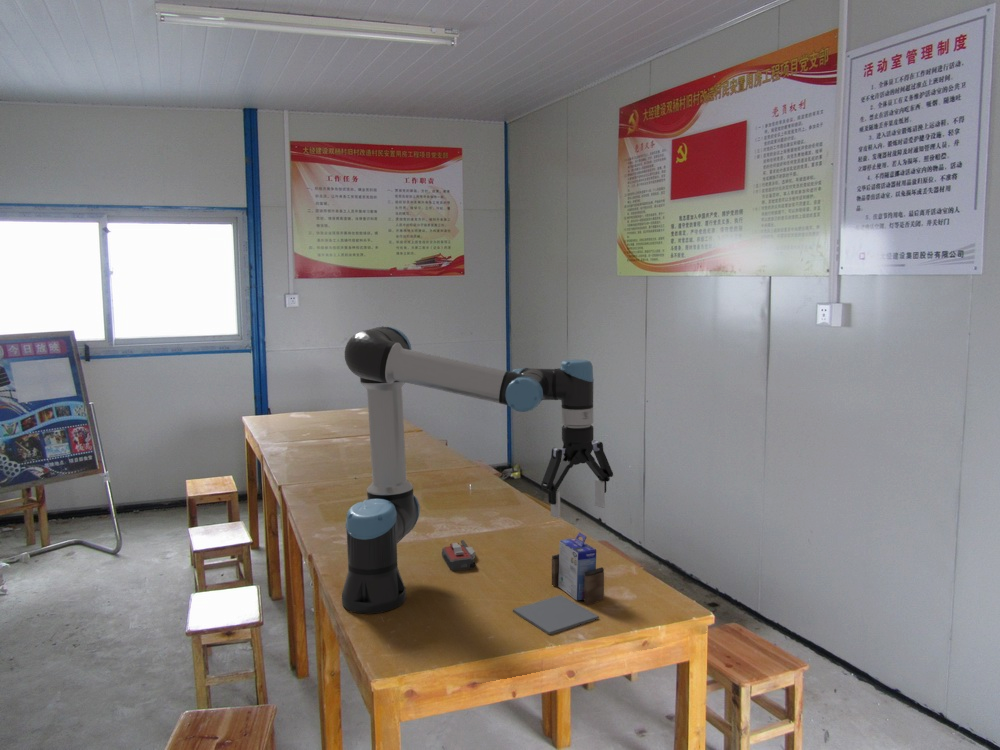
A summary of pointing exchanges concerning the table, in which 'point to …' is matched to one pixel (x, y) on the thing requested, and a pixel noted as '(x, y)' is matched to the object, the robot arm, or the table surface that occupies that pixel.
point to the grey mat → (555, 614)
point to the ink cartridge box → (575, 565)
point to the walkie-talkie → (459, 556)
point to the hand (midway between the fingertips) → (578, 511)
